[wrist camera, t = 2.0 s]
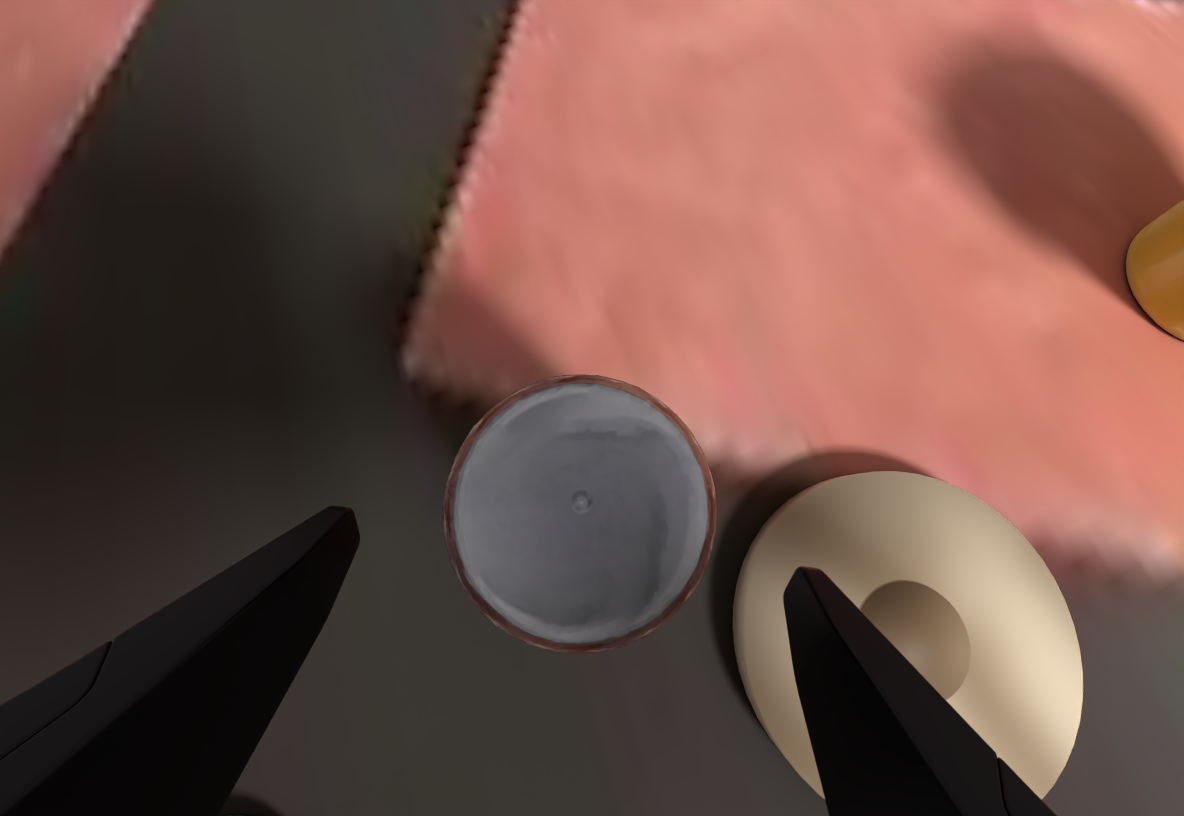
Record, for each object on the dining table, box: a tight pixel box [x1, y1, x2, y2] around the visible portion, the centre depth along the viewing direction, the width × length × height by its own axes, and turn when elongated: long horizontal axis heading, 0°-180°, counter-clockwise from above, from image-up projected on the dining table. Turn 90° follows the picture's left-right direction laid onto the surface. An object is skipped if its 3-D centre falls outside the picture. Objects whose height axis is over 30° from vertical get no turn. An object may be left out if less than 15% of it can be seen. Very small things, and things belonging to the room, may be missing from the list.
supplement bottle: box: [442, 375, 717, 653], centre depth 12 cm, size 6×6×11 cm
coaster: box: [732, 471, 1083, 800], centre depth 16 cm, size 12×12×1 cm
